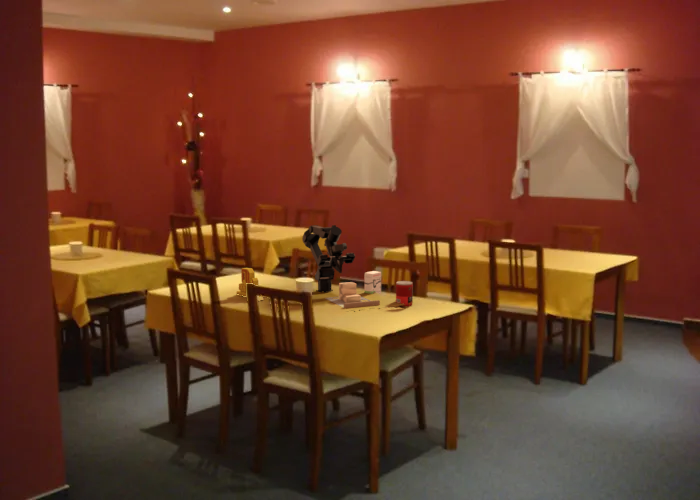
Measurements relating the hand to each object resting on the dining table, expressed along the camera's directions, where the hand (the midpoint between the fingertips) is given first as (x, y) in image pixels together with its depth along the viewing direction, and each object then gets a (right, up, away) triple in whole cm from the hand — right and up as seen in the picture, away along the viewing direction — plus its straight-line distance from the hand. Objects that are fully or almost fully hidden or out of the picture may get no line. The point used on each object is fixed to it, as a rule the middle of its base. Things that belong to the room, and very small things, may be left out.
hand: (340, 272), depth 373 cm
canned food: (+31, -15, -12) cm, 36 cm away
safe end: (+9, -16, -18) cm, 25 cm away
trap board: (+4, -15, -7) cm, 17 cm away
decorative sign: (-46, -13, +6) cm, 48 cm away
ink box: (+16, -12, +13) cm, 24 cm away
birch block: (+4, -13, -8) cm, 16 cm away
